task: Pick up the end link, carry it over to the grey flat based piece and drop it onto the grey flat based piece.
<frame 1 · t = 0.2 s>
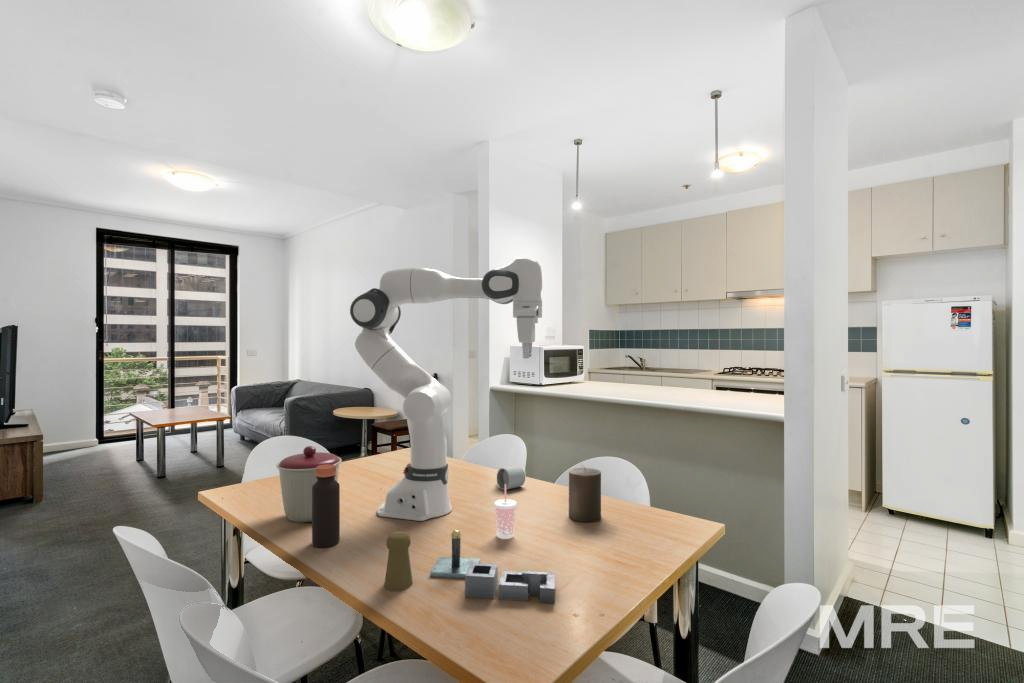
hand: (527, 357, 152), 48 cm above the table, fingers open, 8 cm apart
end link: (481, 590, 106), on the table
ceramic mug: (508, 487, 180), on the table
grey flat based piece: (456, 569, 116), on the table
pillar candle: (584, 517, 151), on the table
beverage cup: (505, 536, 136), on the table
bottle: (325, 543, 131), on the table
canister: (309, 517, 150), on the table
chain tail: (524, 593, 105), on the table
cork: (398, 584, 109), on the table
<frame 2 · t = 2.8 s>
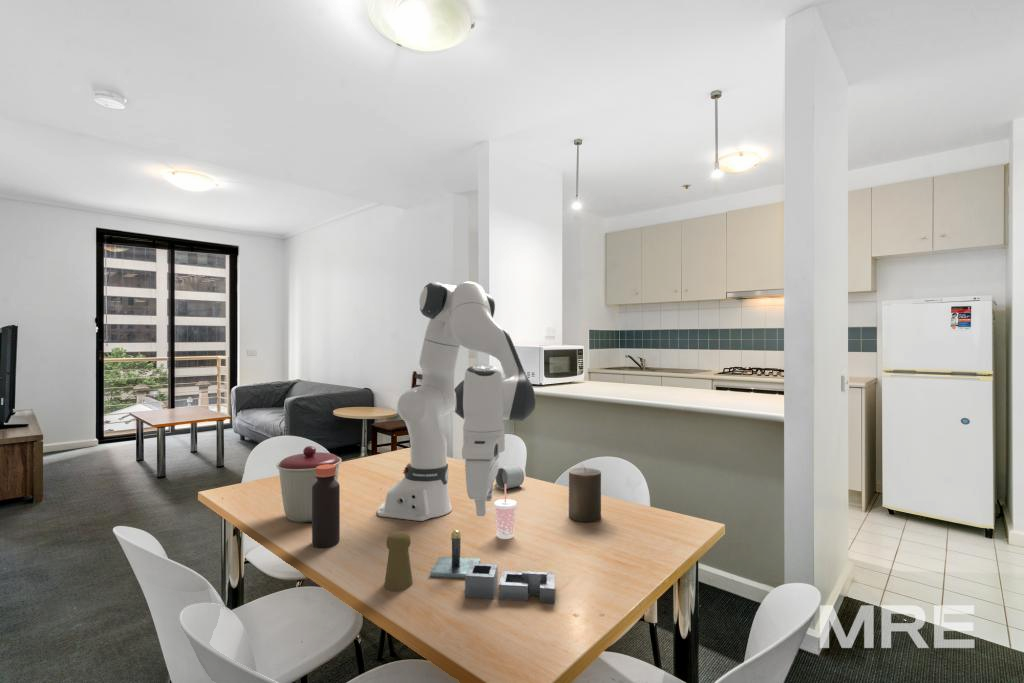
hand: (484, 507, 106), 18 cm above the table, fingers open, 8 cm apart
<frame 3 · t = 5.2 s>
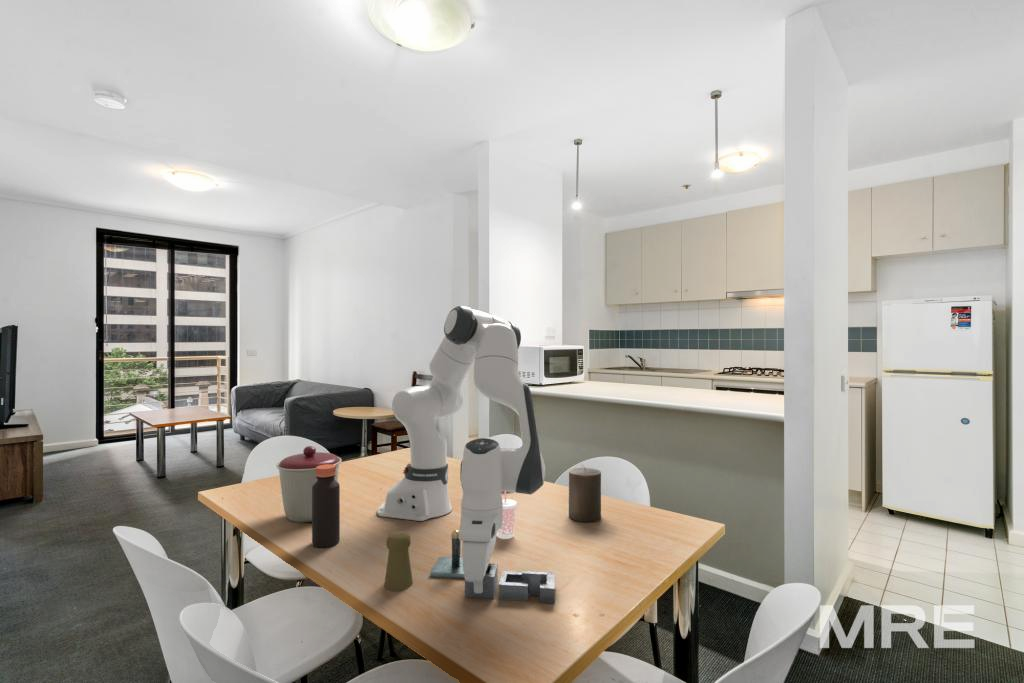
hand: (481, 582, 106), 2 cm above the table, fingers closed on end link, 6 cm apart
end link: (481, 590, 106), on the table, touching gripper
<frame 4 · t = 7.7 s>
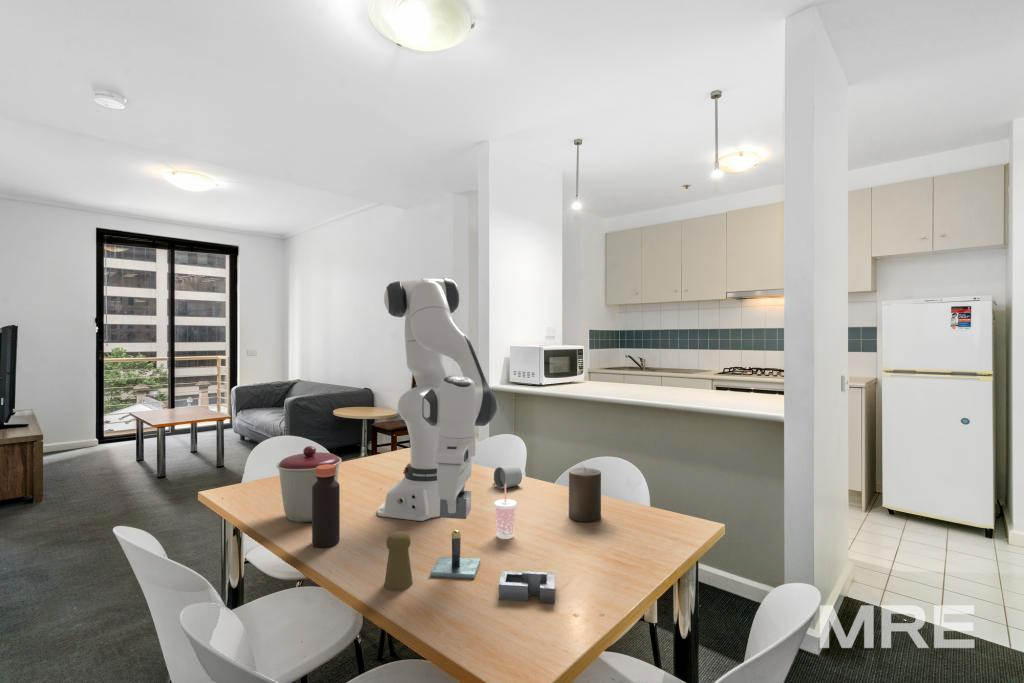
hand: (455, 506, 116), 15 cm above the table, fingers closed on end link, 6 cm apart
end link: (455, 513, 116), point 13 cm above the table, touching gripper
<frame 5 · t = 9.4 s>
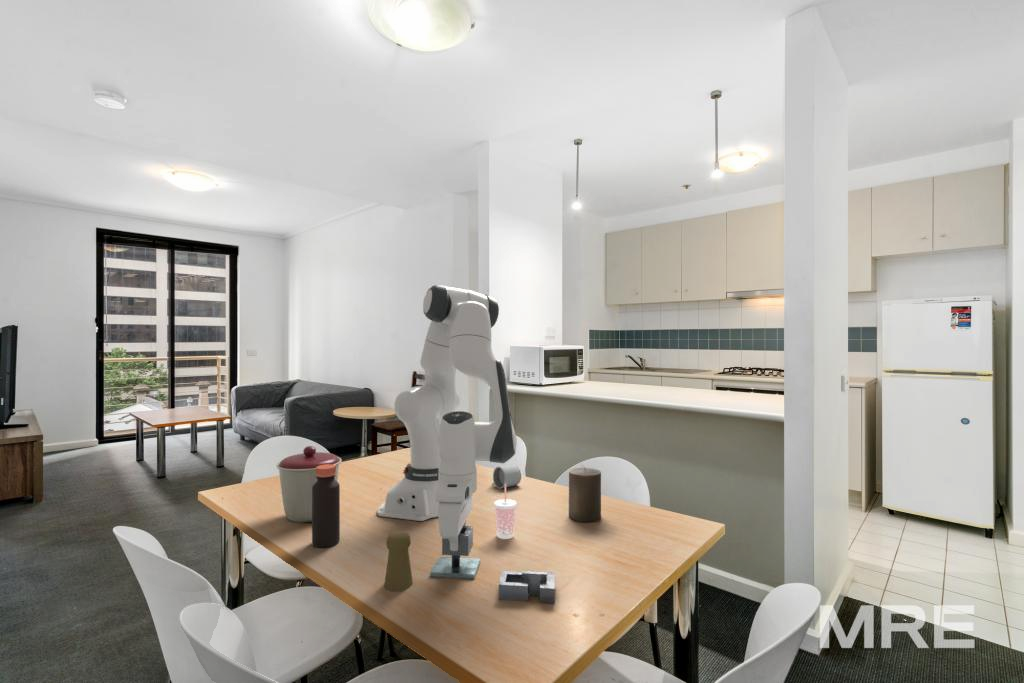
hand: (457, 542, 116), 6 cm above the table, fingers closed on end link, 6 cm apart
end link: (457, 549, 116), point 5 cm above the table, touching gripper
when the fingers open (6 cm above the table, at t = 10.4 s): end link drops 3 cm, resting on grey flat based piece.
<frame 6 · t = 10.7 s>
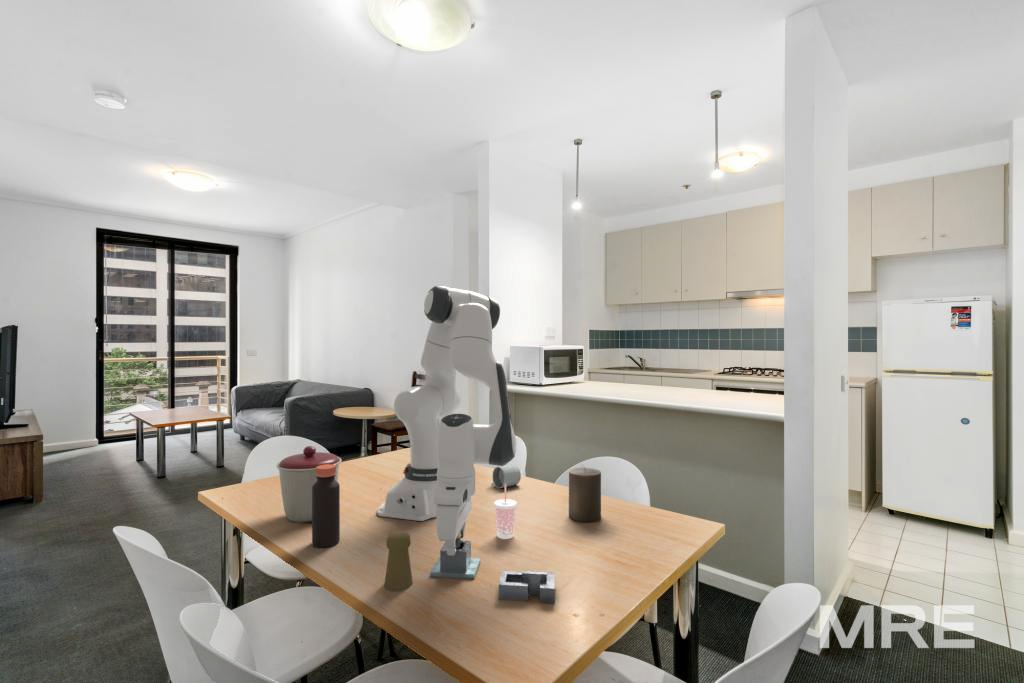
hand: (456, 545, 116), 6 cm above the table, fingers open, 8 cm apart
end link: (456, 565, 116), point 1 cm above the table, touching grey flat based piece
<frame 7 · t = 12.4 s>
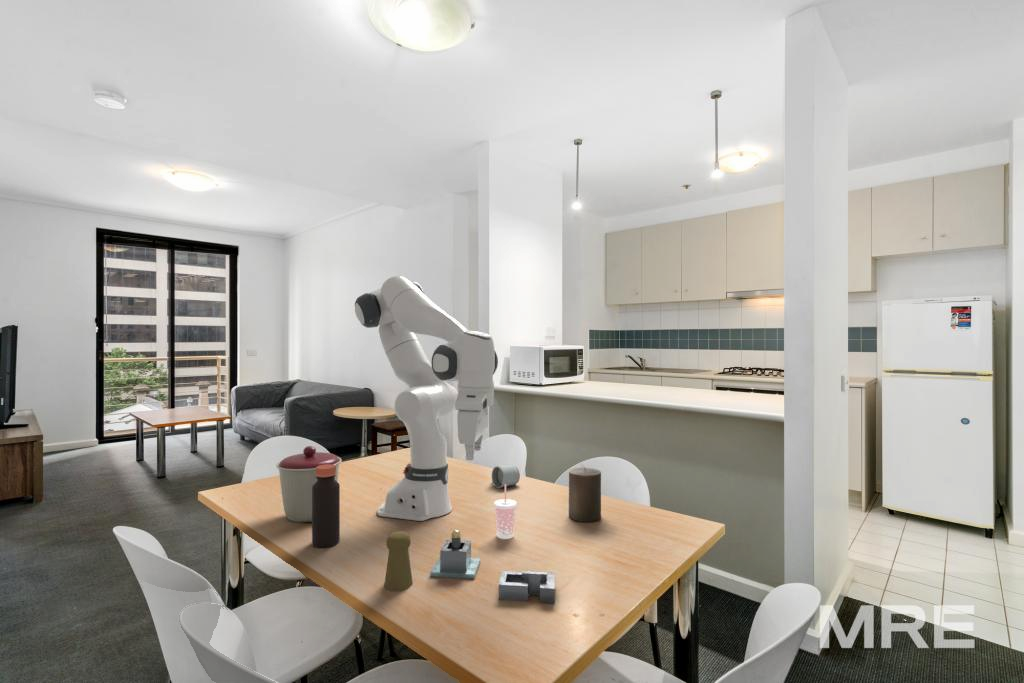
hand: (473, 454, 122), 25 cm above the table, fingers open, 8 cm apart
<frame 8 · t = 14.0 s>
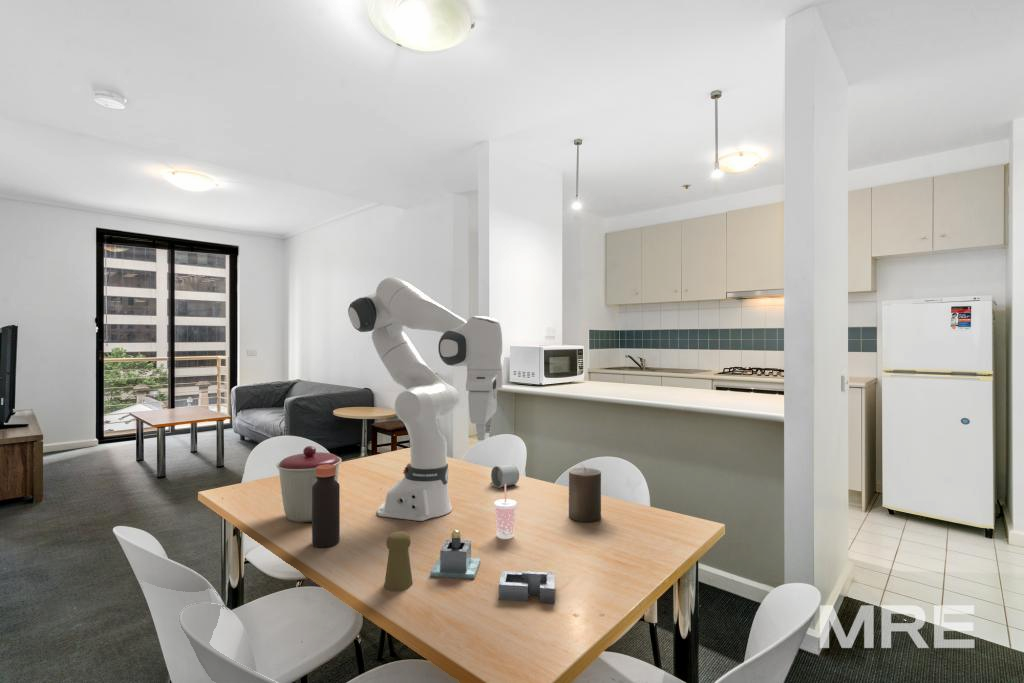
hand: (484, 436, 125), 29 cm above the table, fingers open, 8 cm apart
at the end: end link 0.1 cm from the grey flat based piece (horizontally); end link point 1.0 cm above the table; the gripper is holding nothing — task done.
